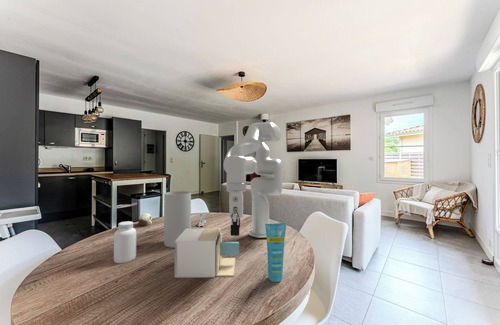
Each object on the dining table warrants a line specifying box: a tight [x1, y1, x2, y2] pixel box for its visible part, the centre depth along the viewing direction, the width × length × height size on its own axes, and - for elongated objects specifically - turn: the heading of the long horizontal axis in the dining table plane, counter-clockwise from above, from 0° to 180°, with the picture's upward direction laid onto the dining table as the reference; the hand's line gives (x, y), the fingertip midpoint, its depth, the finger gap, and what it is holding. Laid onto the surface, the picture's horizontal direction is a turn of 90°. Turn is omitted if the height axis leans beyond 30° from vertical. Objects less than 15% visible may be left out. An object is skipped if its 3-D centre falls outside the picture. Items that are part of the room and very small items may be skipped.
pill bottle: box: [113, 220, 137, 264], centre depth 85 cm, size 8×8×15 cm
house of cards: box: [197, 213, 207, 227], centre depth 133 cm, size 9×9×8 cm
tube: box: [265, 222, 287, 283], centre depth 72 cm, size 7×5×19 cm, turn 103°
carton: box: [174, 227, 236, 278], centre depth 79 cm, size 20×14×13 cm
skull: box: [134, 212, 153, 227], centre depth 131 cm, size 12×10×10 cm
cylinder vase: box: [163, 190, 192, 249], centre depth 103 cm, size 12×12×25 cm
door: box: [219, 232, 240, 262], centre depth 83 cm, size 8×7×10 cm
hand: (235, 231), depth 80 cm, fingers open, 9 cm apart
